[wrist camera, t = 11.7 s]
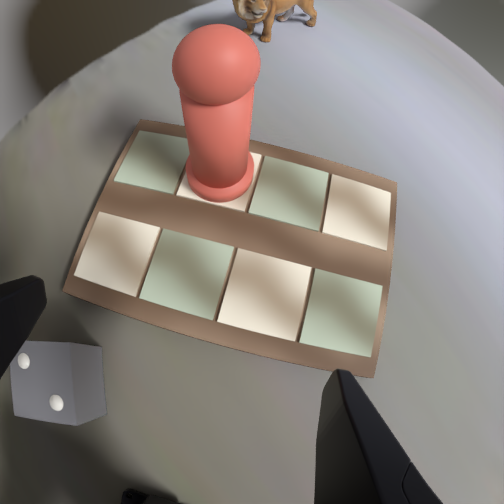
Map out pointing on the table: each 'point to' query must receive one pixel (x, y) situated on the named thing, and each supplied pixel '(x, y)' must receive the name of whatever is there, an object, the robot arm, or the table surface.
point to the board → (244, 253)
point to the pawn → (217, 108)
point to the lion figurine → (270, 13)
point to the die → (58, 382)
